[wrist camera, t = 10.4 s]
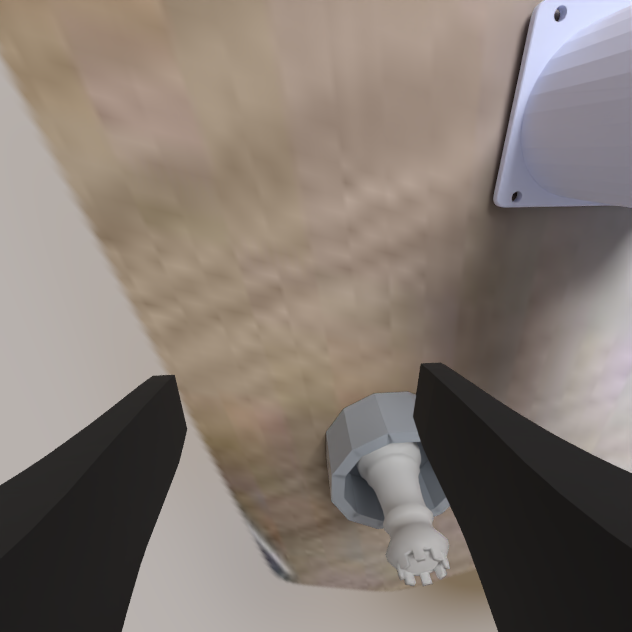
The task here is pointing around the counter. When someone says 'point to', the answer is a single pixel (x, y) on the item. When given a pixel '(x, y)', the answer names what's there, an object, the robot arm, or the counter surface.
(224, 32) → the counter surface
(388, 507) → the rook chess piece
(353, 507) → the grey faceted bowl
